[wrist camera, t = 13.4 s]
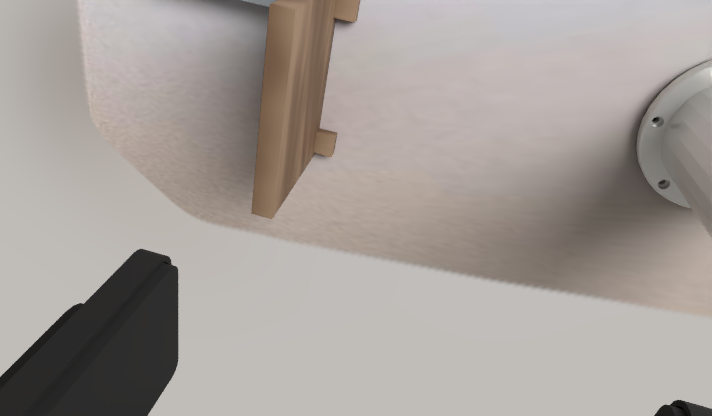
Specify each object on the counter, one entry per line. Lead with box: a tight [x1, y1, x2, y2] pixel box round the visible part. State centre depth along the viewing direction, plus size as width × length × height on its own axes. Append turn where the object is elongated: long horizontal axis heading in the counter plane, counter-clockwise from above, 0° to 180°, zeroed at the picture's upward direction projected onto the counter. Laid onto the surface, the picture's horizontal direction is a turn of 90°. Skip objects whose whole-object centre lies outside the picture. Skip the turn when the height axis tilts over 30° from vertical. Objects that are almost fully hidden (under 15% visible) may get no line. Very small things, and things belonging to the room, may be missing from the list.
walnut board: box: [251, 0, 360, 219], centre depth 40 cm, size 5×15×12 cm, turn 170°
